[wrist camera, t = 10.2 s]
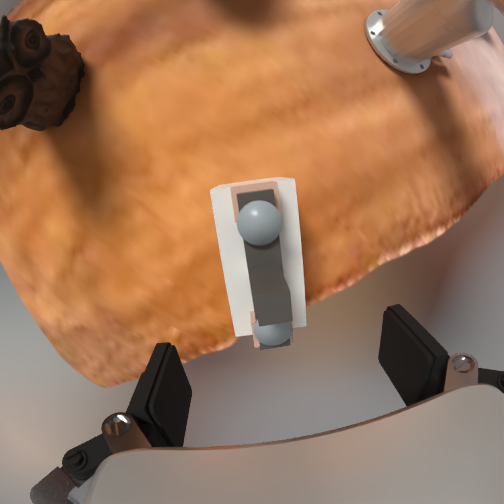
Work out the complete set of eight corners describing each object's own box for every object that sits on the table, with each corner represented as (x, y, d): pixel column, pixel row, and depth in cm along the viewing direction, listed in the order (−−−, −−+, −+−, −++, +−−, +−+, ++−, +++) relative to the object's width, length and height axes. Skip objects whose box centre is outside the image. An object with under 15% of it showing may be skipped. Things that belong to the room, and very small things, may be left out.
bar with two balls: (272, 186, 25) (289, 194, 16) (288, 327, 29) (304, 382, 20) (233, 192, 25) (230, 202, 16) (255, 332, 29) (261, 389, 20)
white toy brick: (279, 177, 35) (300, 179, 23) (291, 289, 39) (311, 338, 27) (218, 185, 35) (206, 191, 23) (236, 297, 39) (235, 349, 27)
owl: (84, 43, 26) (12, -4, 7) (104, 97, 30) (13, 59, 11) (30, 90, 27) (-50, 72, 8) (45, 145, 31) (-50, 146, 12)
